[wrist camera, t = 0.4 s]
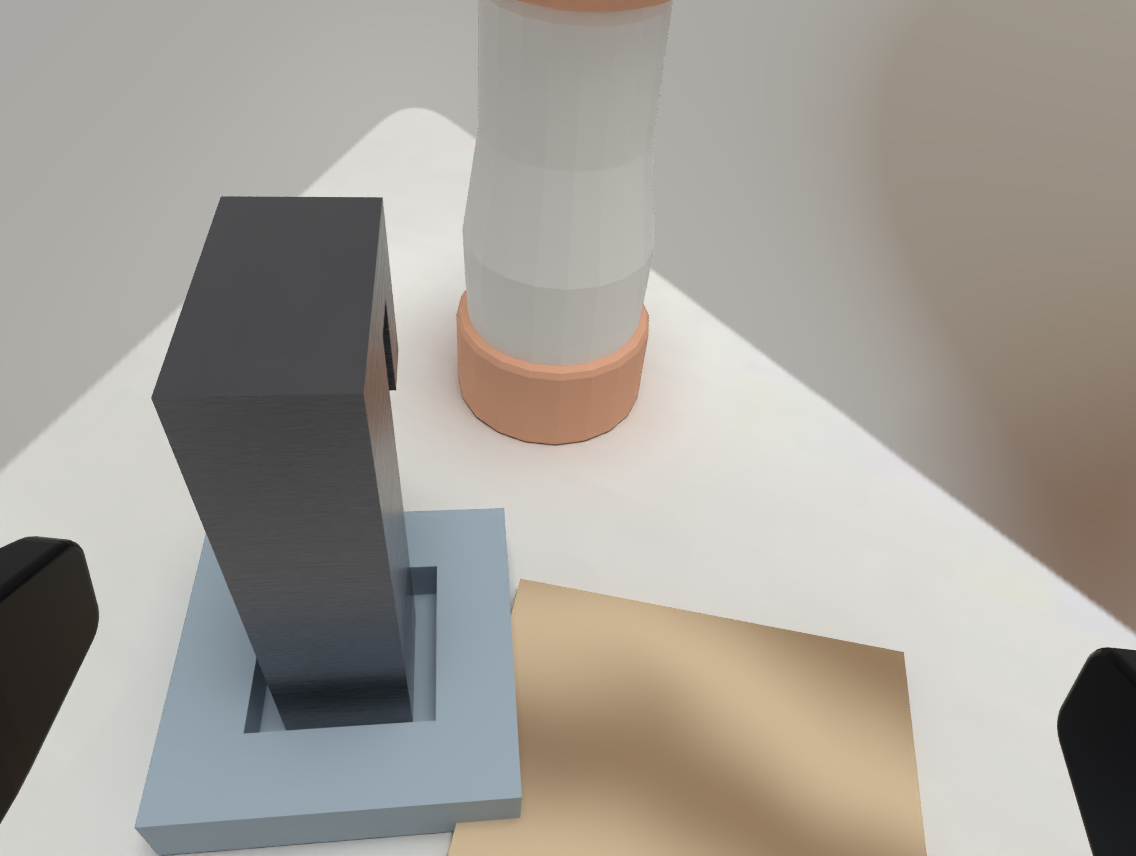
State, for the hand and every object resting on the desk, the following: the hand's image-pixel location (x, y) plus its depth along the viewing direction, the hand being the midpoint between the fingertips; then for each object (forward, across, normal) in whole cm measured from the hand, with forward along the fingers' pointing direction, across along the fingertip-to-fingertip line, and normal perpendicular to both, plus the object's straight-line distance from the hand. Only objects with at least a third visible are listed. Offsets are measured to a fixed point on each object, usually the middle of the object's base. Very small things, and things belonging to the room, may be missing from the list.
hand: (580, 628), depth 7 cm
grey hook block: (+13, +6, +13) cm, 19 cm away
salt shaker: (+25, +2, +10) cm, 27 cm away
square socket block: (+12, +6, +14) cm, 19 cm away
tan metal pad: (+9, -4, +15) cm, 17 cm away
